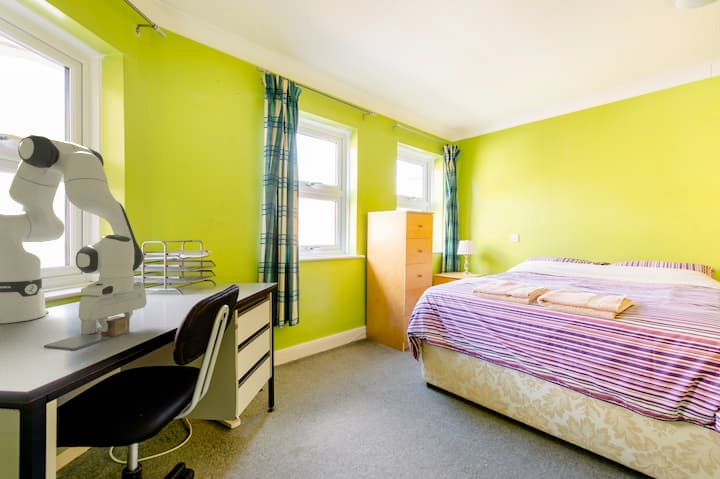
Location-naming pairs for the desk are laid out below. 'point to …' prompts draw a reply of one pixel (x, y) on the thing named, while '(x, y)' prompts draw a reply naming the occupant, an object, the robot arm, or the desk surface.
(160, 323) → the desk surface
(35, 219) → the robot arm
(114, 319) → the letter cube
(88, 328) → the white rounded upright block
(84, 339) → the slate pad
